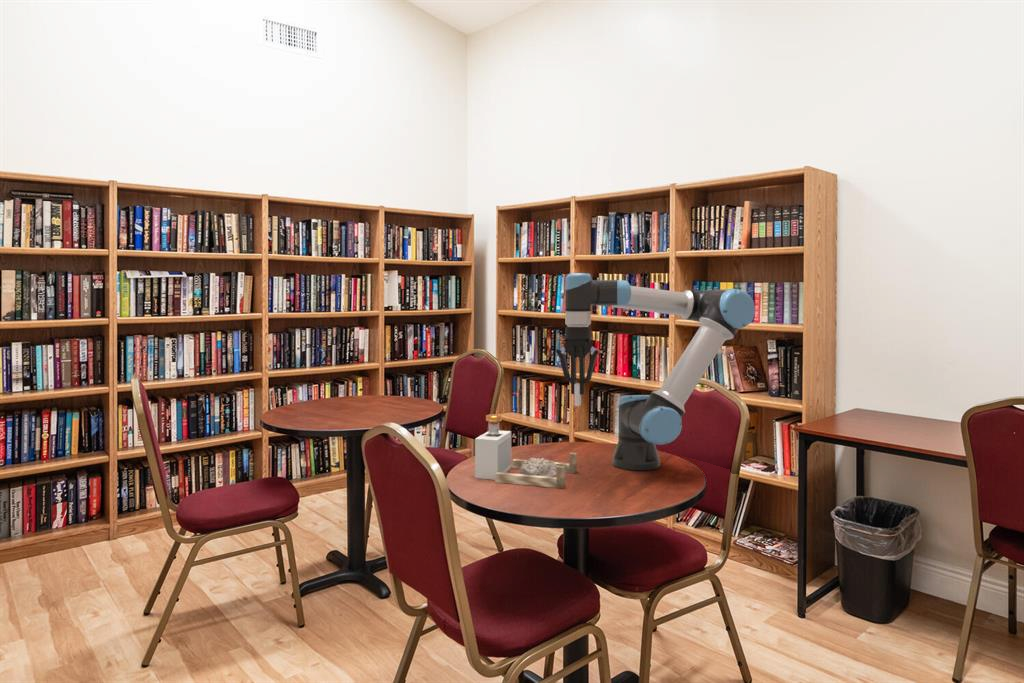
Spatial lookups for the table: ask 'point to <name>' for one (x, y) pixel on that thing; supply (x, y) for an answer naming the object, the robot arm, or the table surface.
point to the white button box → (492, 454)
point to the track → (539, 480)
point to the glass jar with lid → (493, 424)
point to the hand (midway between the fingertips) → (577, 405)
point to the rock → (539, 467)
